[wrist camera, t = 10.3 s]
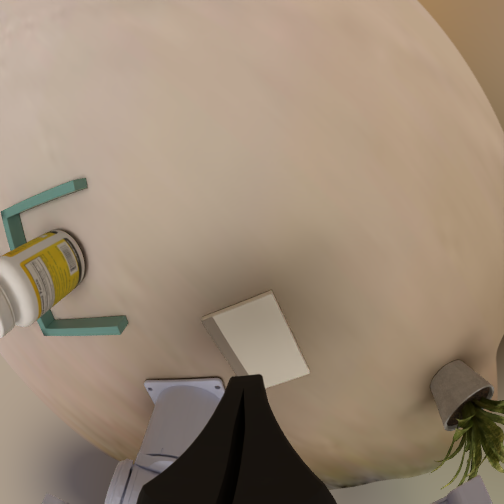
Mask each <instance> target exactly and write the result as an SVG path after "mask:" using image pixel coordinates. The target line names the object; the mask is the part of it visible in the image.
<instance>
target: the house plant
mask: <svg viewBox="0 0 504 504" xmlns="http://www.w3.org/2000/svg"><path fill="white" fill-rule="evenodd" d="M430 388H431V391H432V394H433V396H434V399H435V402H436V405H437V407H438V410H439V413H440V416H441V419H442V422H443V425H444V428H445V430H447V431H453V430H456V432H455V434H454V437H453V441H452V444H451V446H450V449H449V451H448V453H447V455H446V457H445V459H444V460H442V461H443V462H442V463H441V464H440V466H439V467H437V468H436V469H435V470H437V469H438V468H440V467H441V466H442V465H443V464H444V462H445V461H446V460H449V459H451V458H453V457H454V456H455V455H456V454H457V453H458V452H459V451H460V450H461V448H462V447H463V445H464V442H465V446H464V453H463V457H462V461H461V464H460V467H459V470H458V471H457V473H456V475H455V476H454V478H453V479H452V480H451V481H450V482H449V483H448V484H447V485H446V486H448V485H449V484H450V483H451V482H453V480H454V479H455V478H456V477H457V475H458V473H459V472H460V470H461V467H462V464H463V459H464V454H465V452H467V451H468V450H470V452H469V459H468V460H467V462H468V464H467V467H466V471H465V473H464V476H463V478H462V480H461V482H460V483H459V485H458V486H460V485H462V484H463V482H464V480H465V478H466V477H467V476H469V479H468V481H469V480H471V479H472V478H474V477H476V476H477V472H478V468H479V466H480V465H481V463H482V462H483V461H484V460H485V458H486V457H487V458H488V460H489V462H490V464H491V465H492V467H494V468H495V469H496V470H498V471H499V472H502V473H504V470H503V468H502V467H501V466H500V464H499V461H501V462H502V463H504V446H503V440H504V433H503V431H502V429H501V428H500V427H498V426H497V425H496V424H495V423H494V422H497V423H501V424H503V425H504V417H502V416H499V415H496V414H492V413H489V412H486V411H484V410H483V409H487V410H489V411H493V412H499V413H503V414H504V400H502V401H494V400H491V398H492V396H493V393H494V387H493V386H492V385H491V384H490V383H489V382H488V381H486V380H485V379H484V378H483V377H481V376H480V375H479V374H478V373H476V372H475V371H474V370H473V369H471V368H470V367H469V366H468V365H466V364H465V363H464V362H462V361H461V360H456V361H453V362H450V363H448V364H446V365H445V366H444V367H443V368H441V369H440V370H439V371H438V373H437V374H436V375H435V376H434V378H433V380H432V382H431V385H430ZM493 421H494V422H493ZM459 428H463V430H459ZM462 435H463V437H462V440H461V442H460V444H459V447H458V448H457V449H456V451H455V452H454V453H453V454H452V455H451V456H449V454H450V452H451V450H452V447H453V444H454V442H455V441H457V440H458V439H459V438H460V437H461V436H462ZM466 441H467V446H466ZM481 445H482V447H483V450H484V452H485V454H486V456H485V457H484V459H483V461H482V462H481V459H482V452H481ZM465 449H466V450H465ZM448 456H449V457H448ZM471 457H472V461H471ZM470 461H471V470H470V473H469V474H468V475H467V473H468V470H469V466H470ZM436 462H441V461H436ZM480 462H481V463H480ZM479 464H480V465H479ZM435 470H433V471H435ZM433 471H432V472H433ZM432 472H431V473H432ZM446 486H444V487H446ZM444 487H443V488H444ZM441 489H442V488H441Z"/></svg>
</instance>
